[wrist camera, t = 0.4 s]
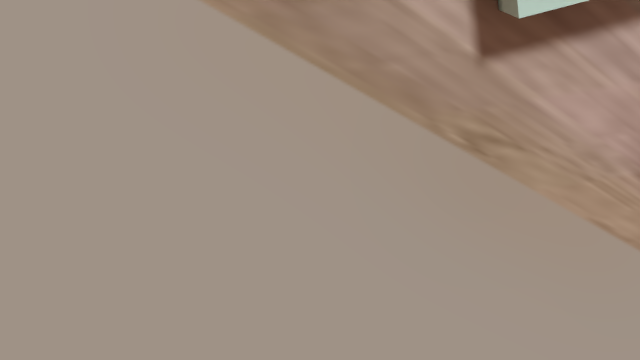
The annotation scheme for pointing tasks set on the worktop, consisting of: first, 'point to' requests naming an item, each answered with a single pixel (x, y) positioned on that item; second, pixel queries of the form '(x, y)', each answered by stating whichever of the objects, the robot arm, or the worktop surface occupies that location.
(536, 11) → the tray
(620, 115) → the worktop surface
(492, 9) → the worktop surface
